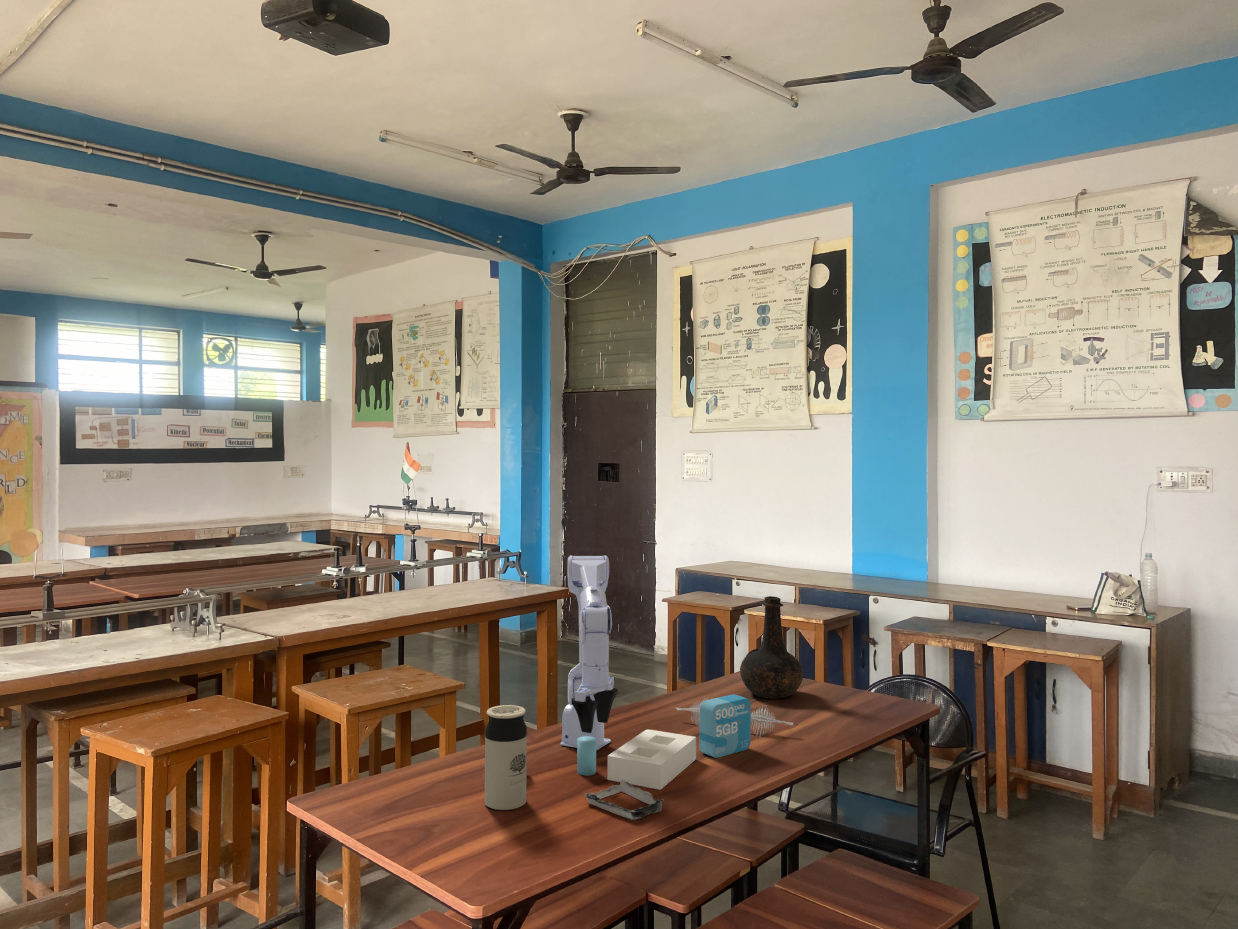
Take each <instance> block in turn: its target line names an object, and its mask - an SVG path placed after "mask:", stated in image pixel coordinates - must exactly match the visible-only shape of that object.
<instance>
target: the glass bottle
mask: <svg viewBox="0 0 1238 929" xmlns="http://www.w3.org/2000/svg"><path fill="white" fill-rule="evenodd" d="M763 599H764V602H762V605H763V606H764V620H763V631H762V639H761V645H760V647H759V648H755V649H752V650H750V651H748V653H747V654H746V656H744V658H743V660H742V661H741V664H740V667H739V673H740V677H741V678H740V679H741V680H742V683H743V684H744V686H745V687H746V688H747V690H749V691H750V693H752V694H753V695H755V696H757V697H760V698H762V699H763V698H764V699H776V700H778V699H783V698H787V697H789V696H791V695H792V694H794V693H795V692H797V691H798V689H799V687H800V686H801V684H802V682H803V679H804V670H803V667H802V664H801V662H800V661H799V659H798V658H797V657H796V656H794V655H793V654H791V653H790V652H789V651H788V650H787V649H786V648H787V647H786V646H785V645H786V644H785V640H784V636H783V629H782V628H783V627H782V616H781V614H782V612H781V607H784V604H783V603H781V598H780V597H777V596H773V595H771V596H765V597H764V598H763Z"/></svg>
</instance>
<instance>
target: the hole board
mask: <svg viewBox="0 0 1238 929" xmlns="http://www.w3.org/2000/svg"><path fill="white" fill-rule="evenodd" d="M695 760H697V737H696V736H692V735H686V734H679V733H673V732H668V731H661V730H655V729H645V730H643V731H642V732H640V733H639V734H638V735H636V736H635V737H633V738H632V739H630V740H628V741H627V742H626V743H624V744H623V745H622V746H620V747H619V748H617V749H615V750H613V751H612V752H611V753H610V754H608V755H607V780H608V781H612V782H618V783H620V780H622V779H623V780H625V781H627V782H629V783H630V785H633V786H637V787H638V786H639V787H643V788H644V787H645V788H649V789H655V790H662V789H664V788H665V786H667V785H668V784H669V783H671V781H673V780H674V779H675V778H676V777H677V776H679V775H680V774H681V773H682V772H683V771H685V769H686V768H688V767H689V766H690V765H691V764H693V762H695Z"/></svg>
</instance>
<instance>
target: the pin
mask: <svg viewBox="0 0 1238 929" xmlns="http://www.w3.org/2000/svg"><path fill="white" fill-rule="evenodd" d="M576 749H577V751H576V752H577V753H576V754H577V755H576V758H577V759H576V761H577V762H576V765H577V766H576V772H577V774H578V775H581V776H593V775H595V774H596V773H597V751H596V738H594V737H591V736H583V737H579V738H578V739H577V748H576Z"/></svg>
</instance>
